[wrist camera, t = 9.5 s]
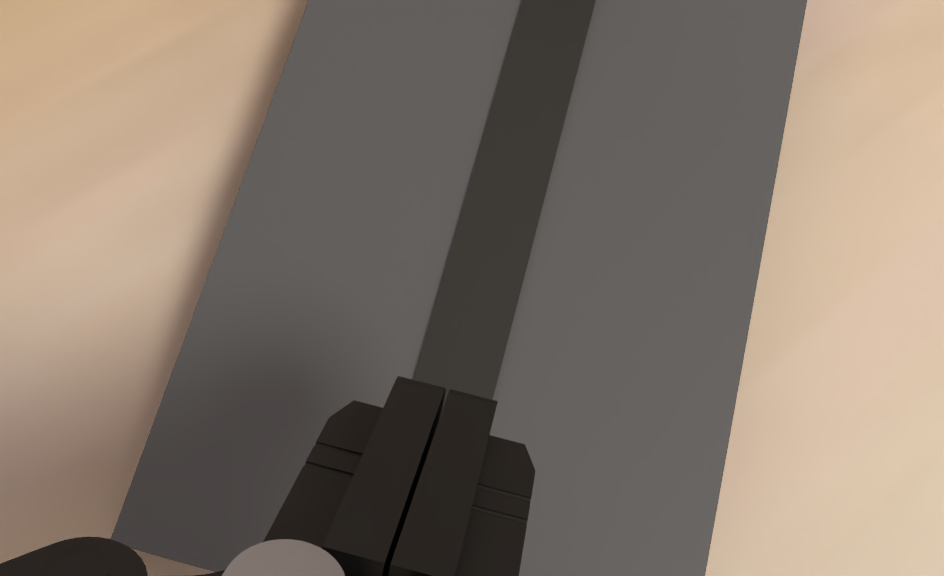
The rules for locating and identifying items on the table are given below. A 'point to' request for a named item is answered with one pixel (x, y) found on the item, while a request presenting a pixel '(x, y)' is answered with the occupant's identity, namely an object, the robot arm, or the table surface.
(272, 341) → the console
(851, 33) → the table surface
